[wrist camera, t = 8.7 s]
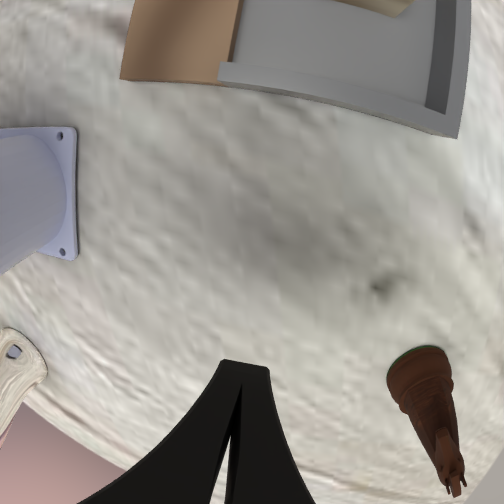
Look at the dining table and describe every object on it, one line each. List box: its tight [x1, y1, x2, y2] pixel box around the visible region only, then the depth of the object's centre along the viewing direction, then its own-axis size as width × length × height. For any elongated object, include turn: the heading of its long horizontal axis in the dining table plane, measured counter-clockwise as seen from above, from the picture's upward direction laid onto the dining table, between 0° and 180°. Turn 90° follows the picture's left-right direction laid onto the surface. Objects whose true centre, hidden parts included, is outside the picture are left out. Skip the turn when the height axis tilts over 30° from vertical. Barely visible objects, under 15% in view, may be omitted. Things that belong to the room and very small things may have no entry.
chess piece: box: [387, 346, 467, 498], centre depth 14 cm, size 5×5×10 cm
